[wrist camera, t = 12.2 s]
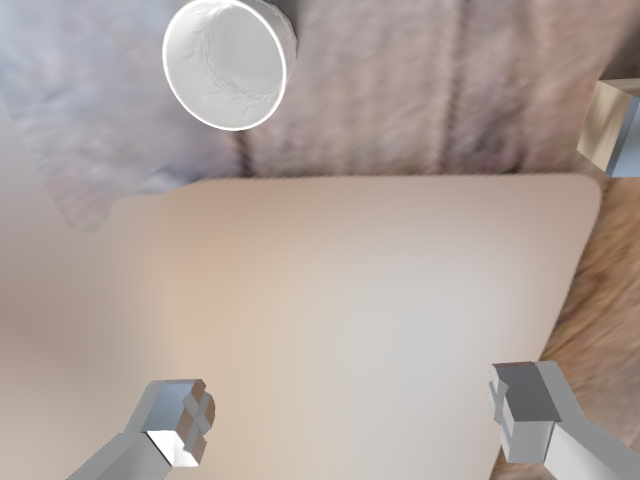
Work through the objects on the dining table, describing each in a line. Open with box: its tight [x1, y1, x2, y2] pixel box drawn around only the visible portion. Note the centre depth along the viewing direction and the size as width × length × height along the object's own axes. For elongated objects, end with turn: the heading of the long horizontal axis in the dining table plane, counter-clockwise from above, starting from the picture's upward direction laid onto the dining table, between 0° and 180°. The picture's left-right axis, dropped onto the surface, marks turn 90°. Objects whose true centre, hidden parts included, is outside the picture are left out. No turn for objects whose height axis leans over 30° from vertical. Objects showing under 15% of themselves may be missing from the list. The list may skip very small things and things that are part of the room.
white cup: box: [162, 0, 297, 130], centre depth 29 cm, size 8×8×10 cm
